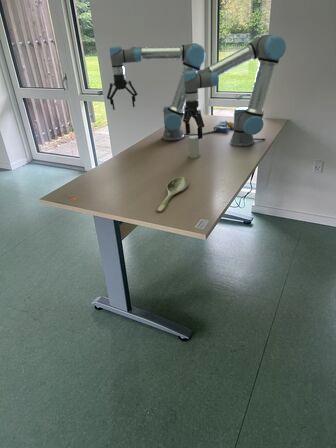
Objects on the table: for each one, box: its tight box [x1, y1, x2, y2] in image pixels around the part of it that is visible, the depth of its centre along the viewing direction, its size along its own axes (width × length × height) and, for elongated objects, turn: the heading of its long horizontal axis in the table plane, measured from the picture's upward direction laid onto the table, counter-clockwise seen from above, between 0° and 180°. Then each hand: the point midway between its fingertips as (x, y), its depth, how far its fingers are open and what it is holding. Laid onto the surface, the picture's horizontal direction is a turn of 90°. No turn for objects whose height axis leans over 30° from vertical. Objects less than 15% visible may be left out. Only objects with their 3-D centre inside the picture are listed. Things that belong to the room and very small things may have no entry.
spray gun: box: [213, 120, 234, 133], centre depth 256 cm, size 21×4×15 cm
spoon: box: [157, 176, 190, 213], centre depth 167 cm, size 35×11×2 cm, turn 159°
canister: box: [188, 135, 200, 159], centre depth 209 cm, size 6×6×13 cm
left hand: (123, 108), depth 224 cm, fingers open, 13 cm apart
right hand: (194, 136), depth 205 cm, fingers open, 13 cm apart
